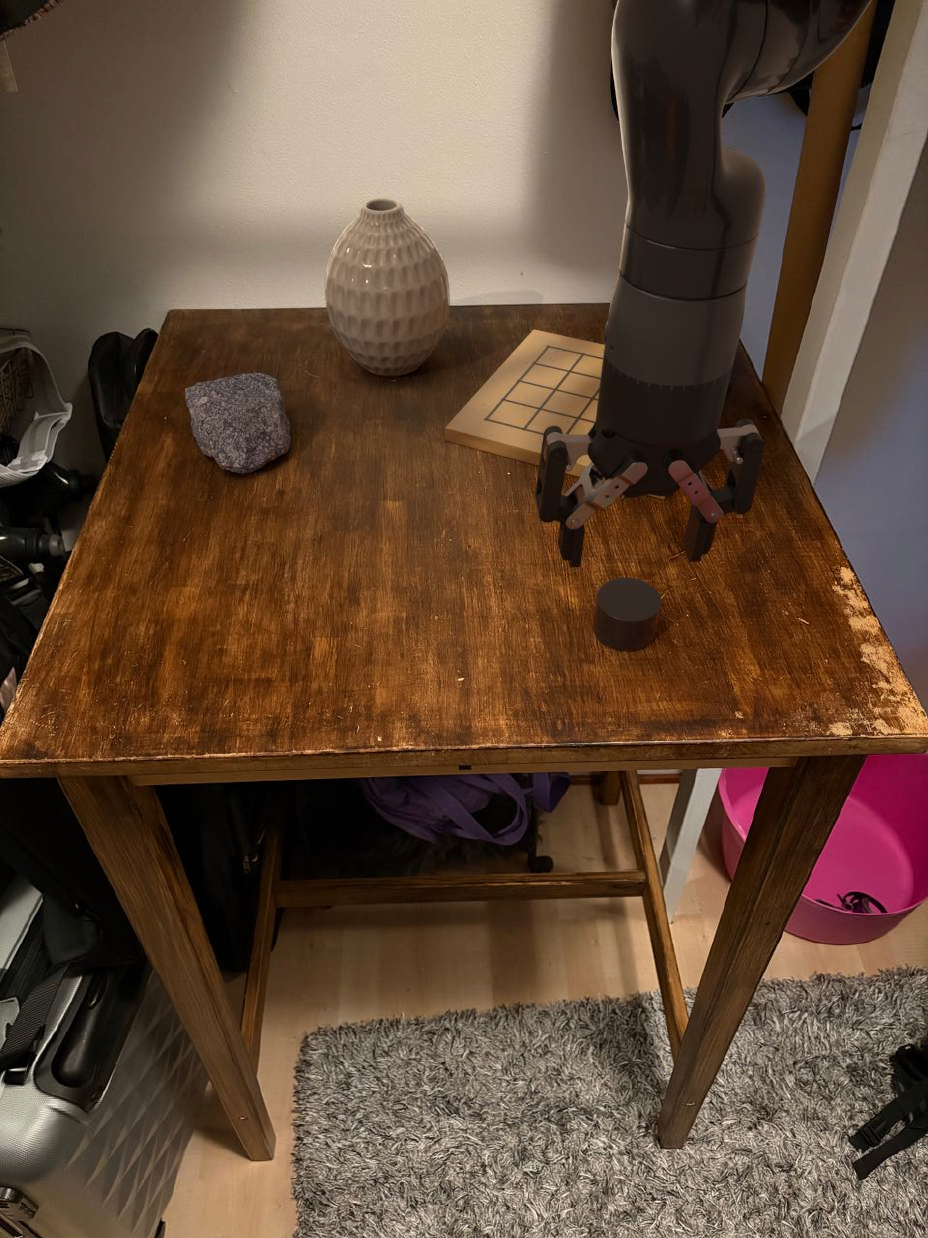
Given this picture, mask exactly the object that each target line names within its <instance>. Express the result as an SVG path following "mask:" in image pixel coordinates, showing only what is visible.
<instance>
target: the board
mask: <svg viewBox="0 0 928 1238" xmlns="http://www.w3.org/2000/svg"><path fill="white" fill-rule="evenodd" d="M604 348H605V344H603V343H598V342H594V341H588V340H584V339H579V338H576V337H571V336H565V335H562V334H557V333H552V332H547V331H543V330H539V329H538V330H537V329H533V330H531V332H530V333H529V334H528V335H527V336H526V337H525V338H524V339H523V340H522V342H521V343H519V345H518V346H517V347H516V348H515V349H514V351H513V352H512V353H510V355H509V356H508V357H507V358H506V359H505V361H504V362H503V363H502V364H501V365H500V366H499V367H498V368H497V370H495V371H494V372H493V374H491V376H490V377H489V378H488V379H487V381H485V382H484V384H483V385H482V386H481V387H480V388H479V389H478V390H477V392H476V393H475V394H473V396H472V397H471V398H470V399H469V400H468V401H467V403H466V404H465V405H464V406H463V407H462V408H461V409H459V411H458V413H457V414H455V416H454V417H453V418H452V419H451V420H450V421H449V422H448V424H447V425H446V426H444V441H446V442H449V443H453V444H456V445H460V446H464V447H467V448H471V449H475V450H479V451H482V452H486V453H490V454H493V455H497V456H499V457H500V456H501V457H505V458H507V459H512V460H515V461H519V462H523V463H528V464H531V465H533V466H537V467H539V463H540V456H541V449H542V442H543V435H544V431H545V430H546V429H547V428H548V427H550V426H558V427H560V428H561V430H562V432H563V434H575V435H587V434H588V432H589V431H590V429H591V428H592V427H593V425H594V423H595V420H596V413H597V405H598V396H599V388H600V380H601V372H602V364H603V356H604ZM590 462H591V460H590V458H589V456H588V455H583V456H581V457H580V458H578V460H577V462H576V464H575V466H574V467H573V469H572V470H571V471H569V472H568V471H566V470H565V474H567V475H570V476H574V477H579V478H580V474H581V472H582V471H583V470H584V468H585V467H586V466H587V465H588V464H589V463H590ZM605 482H606V479H605V478H604V477H603V479H602V484H604V483H605ZM647 496H649V497H653V498H656V499H659V500H663V501H664V500H665V499H666V498H667V496H656V495H650V494H648V495H647Z"/></svg>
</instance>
